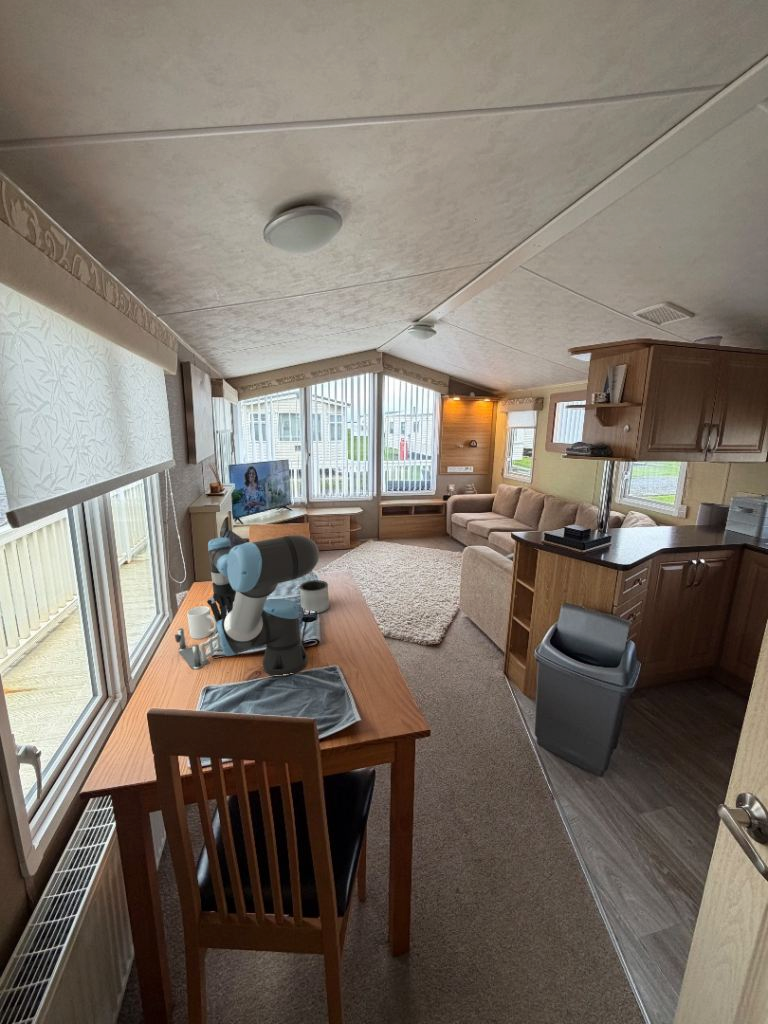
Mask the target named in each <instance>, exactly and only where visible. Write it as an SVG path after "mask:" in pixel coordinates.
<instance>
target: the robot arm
mask: <svg viewBox="0 0 768 1024" xmlns="http://www.w3.org/2000/svg"><path fill="white" fill-rule="evenodd" d="M207 543H208V544H207V548H208V549H207V551H208V556H209V564H210V566H209V567H210V575H211V581H212V591H213V595H212V597H209V598H208V600H206V603H207V604H208V606H209V608H210V610H211V612H212V614H213V615H212V616H213V617H214V618H215V620H216V622H217V623H216V625H217V629H216V630H217V633H218V634H219V638H220V644H221V646H222V648H221V650H222V652H223V654H224V655H225V656H226V657H230V656H231V657H232V656H235V655H236V656H237V655H238V654H240V653H244V652H247V651H250V650H253V649H256V648H260V647H263V646H265V651H264V655H263V659H262V668H263V671H264V673H265V674H267V675H269V676H271V675H283V674H290V673H295V674H297V673H298V672H301V671H302V670H304V668H305V667H306V665H307V664H308V655H307V652H306V649H305V648H304V645H303V643H302V640H301V625H300V614H299V606H298V605H297V603H296V602H294V601H293V600H290V599H286V598H273V599H268V596H270V595H271V594H273V593H274V592H275V590H276V589H277V586H278V584H281V583H285V582H288V581H293V580H297V579H300V578H302V577H305V576H307V575H308V574H309V573H311V572H312V571H313V569H314V570H315V567H316V566H317V564H318V563H319V558H320V551H319V548H318V545H317V543H316V542H315V541H314V540H313V539H312V538H311V537H308V536H304V535H297V534H295V535H294V534H290V535H286V536H285V535H284V536H280V537H275V538H269V539H263V540H259V541H254V542H251V541H250V542H249V541H248V542H245V543H242V544H241V543H240V544H238V545H235V546H233V545H232V543H231V539H230V538H229V537H216V538H215V537H214V538H212V539H210V540H209V541H208V542H207ZM267 599H268V600H267ZM296 672H297V673H296Z"/></svg>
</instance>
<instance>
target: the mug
mask: <svg viewBox="0 0 768 1024" xmlns="http://www.w3.org/2000/svg"><path fill="white" fill-rule="evenodd" d="M186 615H187V621H188V622H187V623H188V631H189V636H190V638H192V639H194V640H202V639H205V638H208V637H209V636H210V635H211V634H212V633H213V632H215V631H216V630H217V625H216V623H217V622H216V620H215V617H214V615H212V614H211V608H210V606H209V607H208V606H206V605H203V606H202V605H201V606H196V607H193V608H191V609H189V610H188V611H187V612H186ZM212 623H213V626H212Z"/></svg>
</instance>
